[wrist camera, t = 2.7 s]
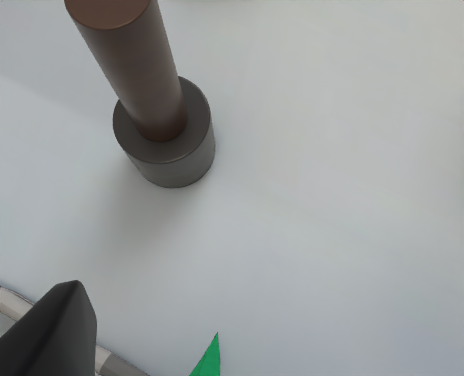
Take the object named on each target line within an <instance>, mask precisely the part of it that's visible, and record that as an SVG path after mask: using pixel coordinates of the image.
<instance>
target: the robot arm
mask: <svg viewBox="0 0 464 376" xmlns="http://www.w3.org/2000/svg"><path fill="white" fill-rule="evenodd" d="M96 333H97V320H96V315H95V312H94V309H93V307H92V305H91V302H90V300H89V297H88V295H87V293H86V290H85V288H84V286H83V284H82V283H81V282H80V281H78V280H74V281H69V282H64V283H59V284H56V285H55V286H54V287H53V288H51V289H50V290H49V291H48V292H47V293H46V294H45V295H44V296H43V297H42V298H41V299H40V300H39V301H38V302H37V303H36V304H35V305H34V306H33V307H32V308H31V309H30V310H29V311H28V312H27V313H26V314H25V315H23V316H22V317H21V318H20V319H19V320H18V321H17V322H16V323H15V324H14V325H13V326H12V327H11V328H10V329H9V330H8V331H7V332H6V333H5V334H4V335H3V336H2V337H1V338H0V376H95V354H96Z"/></svg>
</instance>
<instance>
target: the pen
mask: <svg viewBox="0 0 464 376" xmlns="http://www.w3.org/2000/svg"><path fill="white" fill-rule="evenodd" d="M34 305H35V304H33V303H32V302H30V301H29V300H27V299H26V298H24V297H22V296H21V295H19V294H17V293H15V292H13V291H11V290H9V289H5V288H3V287H1V286H0V312H2V313H4V314H5V315H7V316H8V317H10V318H12V319H13V320H15V321H16V322H17V321H18V320H19V319H20V318H21V317H22V316H23V315H25V314H26V313H27V312H28V311H29V310H30V309H31V308H32V307H33V306H34ZM95 371H96V372H97V373H99V374H100V375H102V376H149V375H148V374H146V373H144V372H143V371H141V370H139V369H138V368H136V367H134V366H133V365H131V364H129V363H128V362H126V361H125V360H123V359H121V358H120V357H118V356H116V355H115V354H113V353H111V352H110V351H108V350H106V349H104V348H102V347H100V346H98V345H96V354H95Z"/></svg>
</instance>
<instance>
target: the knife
mask: <svg viewBox="0 0 464 376" xmlns="http://www.w3.org/2000/svg"><path fill="white" fill-rule="evenodd" d="M189 376H220V353H219V343H218V332H217V334H216V336H215V337H214V339H213V341H212V342H211V344H210V346H209V347H208V349H207V351H206V352H205V354H204V356H203V357H202V359H201V360H200V362H199V363H198V365H197V366H196V367H195V369H194V370H193V371H192V373H191V374H190V375H189Z"/></svg>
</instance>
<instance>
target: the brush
mask: <svg viewBox="0 0 464 376" xmlns="http://www.w3.org/2000/svg"><path fill="white" fill-rule="evenodd" d="M64 2H65V6H66V9H67V11H68V13H69V15H70V16H71V18H72V20H73V21H74V23H75V25H76V27H77V28H78V30H79V32H80V33H81V35H82V37H83V38H84V40H85V42H86V44H87V45H88V47H89V49H90V50H91V52H92V54H93V55H94V57H95V59H96V61H97V62H98V64H99V66H100V67H101V69H102V71H103V72H104V74H105V76H106V78H107V79H108V81H109V83H110V84H111V86H112V88H113V89H114V91H115V93H116V95H117V96H118V98H119V100H118V102H117V104H116V106H115V109H114V113H113V130H114V134H115V137H116V139H117V141H118V143H119V144H120V146H121V147H122V148H123V150H124V151H125V152H126V154H127V155H128V156H129V158H130V159H131V160H132V162H133V163H134V164H135V166H136V167H137V168H138V170H139V171H140V172H141V174H142V175H143V176H144V177H145V178H146V179H148V180H149V181H151V182H152V183H154V184H156V185H159V186H162V187H168V188H177V187H183V186H186V185H189V184H191V183H193V182H195V181H197V180H198V179H200V178H201V177H202V176H203V175H204V174H205V173H206V172H207V171H208V169H209V168H210V166H211V164H212V162H213V159H214V155H215V138H214V132H213V126H212V119H211V113H210V108H209V104H208V101H207V99H206V97H205V95H204V94H203V93H202V91H201V90H200V89H199V88H198V87H197V86H196V85H195V84H193V83H192V82H191V81H189V80H187V79H185V78H183V77H180V76H178V75H177V71H176V67H175V64H174V60H173V56H172V53H171V49H170V45H169V42H168V38H167V35H166V31H165V27H164V24H163V20H162V16H161V13H160V9H159V5H158V2H157V0H64Z"/></svg>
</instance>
